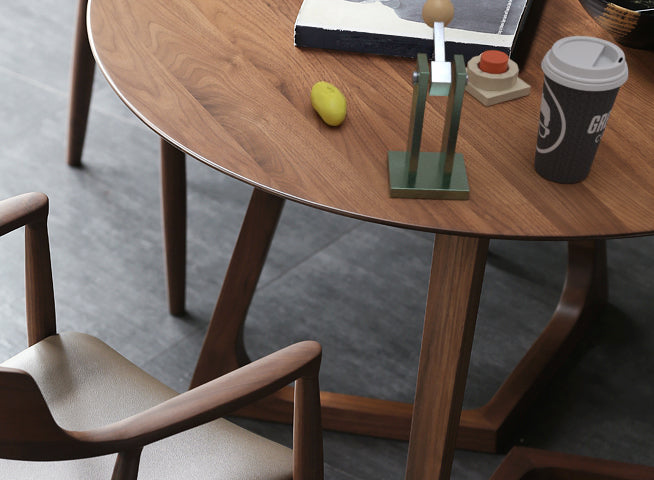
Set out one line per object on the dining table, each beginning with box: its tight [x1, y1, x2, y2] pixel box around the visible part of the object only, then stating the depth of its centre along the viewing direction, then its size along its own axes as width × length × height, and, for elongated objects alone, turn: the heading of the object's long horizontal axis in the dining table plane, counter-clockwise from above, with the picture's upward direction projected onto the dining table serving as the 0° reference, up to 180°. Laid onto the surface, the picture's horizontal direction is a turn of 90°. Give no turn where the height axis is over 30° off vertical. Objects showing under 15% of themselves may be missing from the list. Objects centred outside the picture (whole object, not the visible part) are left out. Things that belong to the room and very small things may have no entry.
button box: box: [464, 54, 532, 107], centre depth 142 cm, size 8×7×3 cm
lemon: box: [310, 80, 348, 127], centre depth 135 cm, size 4×8×4 cm, turn 12°
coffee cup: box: [533, 35, 629, 185], centre depth 124 cm, size 10×10×15 cm
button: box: [479, 49, 510, 74], centre depth 141 cm, size 4×4×2 cm
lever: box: [421, 0, 455, 97], centre depth 119 cm, size 12×4×4 cm, turn 179°
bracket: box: [386, 53, 470, 201], centre depth 121 cm, size 8×9×15 cm
